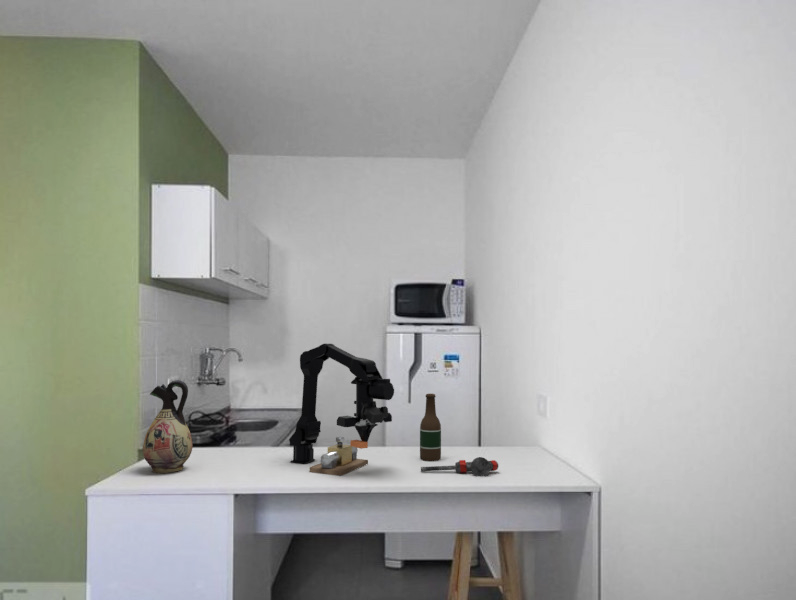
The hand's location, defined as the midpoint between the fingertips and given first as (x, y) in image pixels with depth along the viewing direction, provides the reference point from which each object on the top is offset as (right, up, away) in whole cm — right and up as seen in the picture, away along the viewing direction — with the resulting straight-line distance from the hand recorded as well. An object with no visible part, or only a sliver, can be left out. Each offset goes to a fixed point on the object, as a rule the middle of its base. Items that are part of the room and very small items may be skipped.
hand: (364, 445), depth 185 cm
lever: (-5, 0, +2) cm, 5 cm away
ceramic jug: (-65, -9, +1) cm, 66 cm away
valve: (+31, -10, +3) cm, 33 cm away
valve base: (-9, -9, +6) cm, 14 cm away
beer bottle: (+23, -11, +21) cm, 33 cm away
